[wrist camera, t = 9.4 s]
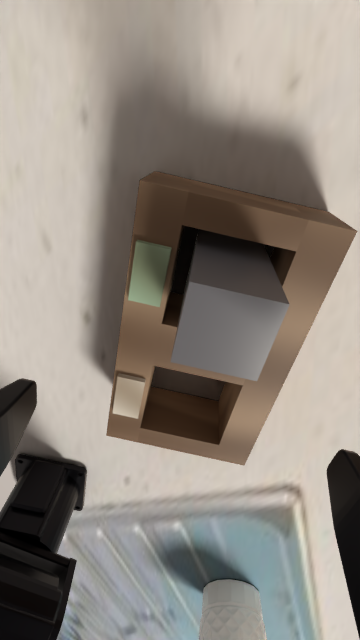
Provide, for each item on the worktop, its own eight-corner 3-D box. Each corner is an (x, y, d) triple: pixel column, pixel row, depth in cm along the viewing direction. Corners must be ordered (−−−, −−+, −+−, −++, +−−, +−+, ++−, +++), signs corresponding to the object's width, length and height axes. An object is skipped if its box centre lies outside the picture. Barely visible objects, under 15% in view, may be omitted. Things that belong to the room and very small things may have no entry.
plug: (242, 296, 20) (256, 381, 13) (185, 283, 20) (170, 361, 13) (261, 240, 18) (289, 304, 11) (199, 225, 18) (189, 281, 11)
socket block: (240, 419, 25) (244, 469, 22) (121, 393, 25) (105, 439, 21) (328, 211, 17) (359, 233, 13) (154, 171, 17) (137, 181, 13)
